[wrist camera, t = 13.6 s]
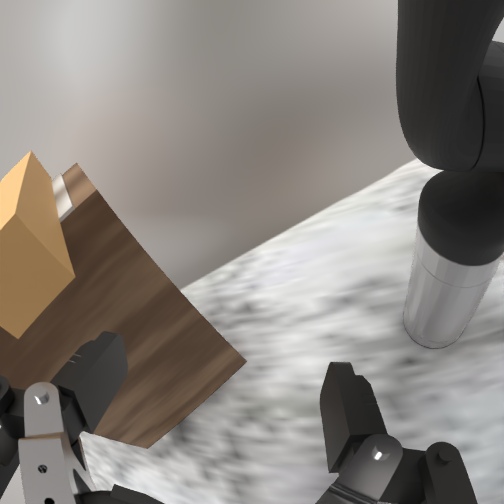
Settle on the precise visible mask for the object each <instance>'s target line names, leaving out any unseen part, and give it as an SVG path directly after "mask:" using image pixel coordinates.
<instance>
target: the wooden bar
mask: <svg viewBox="0 0 504 504" xmlns="http://www.w3.org/2000/svg"><path fill="white" fill-rule="evenodd" d="M74 278H75V274H74V271H73V268H72V264H71V261H70V258H69V254H68V251H67V247H66V244H65V240H64V236H63V232H62V228H61V224H60V220H59V216H58V211H57V207H56V202H55V197H54V192H53V186H52V181H51V177H50V176H49V174H48V173H47V172H46V170H45V169H44V168H43V166H42V165H41V163H40V162H39V161H38V160H37V158H36V156H35V155H34V154H33V152H32V151H30V152H29V153H28V154H27V155H26V156H25V157H24V158H23V159H22V160H21V161H20V162H19V163H18V164H17V165H16V166H15V167H14V168H13V169H12V170H11V171H10V172H9V173H8V174H7V175H6V176H5V177H4V178H3V179H2V180H1V182H0V326H1V327H2V328H3V329H5V330H6V331H8V332H9V333H10V334H12V335H13V336H14V337H16V338H17V339H19V338H20V337H21V335H22V334H23V333H24V332H25V331H26V330H27V328H28V327H29V326H30V325H31V324H32V323H33V322H34V320H35V319H36V318H37V317H38V316H39V315H40V314H41V313H42V312H43V310H44V309H45V308H46V307H47V306H48V305H49V304H50V303H51V302H52V301H53V300H54V299H55V298H56V297H57V295H58V294H59V293H60V292H61V291H62V290H63V289H64V288H65V287H66V286H67V285H68V284H69V283H70V282H71V281H72V280H73V279H74Z"/></svg>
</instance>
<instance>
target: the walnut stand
mask: <svg viewBox="0 0 504 504" xmlns="http://www.w3.org/2000/svg"><path fill="white" fill-rule="evenodd" d="M52 186H53V192H54V197H55V202H56V207H57V211H58V216H59V220H60V224H61V228H62V232H63V236H64V240H65V244H66V247H67V251H68V254H69V258H70V261H71V264H72V268H73V271H74V274H75V278H74V279H73V280H72V281H71V282H70V283H69V284H68V285H67V286H66V287H65V288H64V289H63V290H62V291H61V292H60V293H59V294H58V295H57V297H56V298H55V299H54V300H53V301H52V302H51V303H50V304H49V305H48V306H47V307H46V308H45V309H44V310H43V312H42V313H41V314H40V315H39V316H38V317H37V318H36V319H35V320H34V322H33V323H32V324H31V325H30V326H29V327H28V328H27V330H26V331H25V332H24V333H23V334H22V335H21V337H20V338H19V339H17V338H16V337H14V336H13V335H12V334H10V333H9V332H8V331H6V330H5V329H3V328H2V327H1V326H0V375H2V376H4V377H6V378H7V380H8V382H9V384H10V386H11V388H17V389H23V390H27V389H28V388H29V387H30V386H31V385H33V384H35V383H38V382H48V383H49V382H50V381H51V380H52V378H53V377H54V376H55V375H56V374H57V373H58V371H59V370H60V369H61V368H62V367H63V366H64V364H65V363H66V362H67V361H69V359H70V358H71V357H72V355H74V353H75V352H76V351H77V350H78V349H79V348H80V346H81V345H83V344H85V343H87V342H89V341H90V340H93V341H94V340H95V339H96V338H97V337H98V336H99V335H100V334H101V333H102V332H103V331H107V332H112V333H116V334H120V335H122V337H123V340H124V346H125V352H126V357H127V362H128V372H127V376H126V379H125V380H124V382H123V384H122V385H121V387H120V389H119V390H118V392H117V393H116V395H115V397H114V398H113V400H112V402H111V404H110V405H109V407H108V409H107V410H106V412H105V414H104V415H103V417H102V419H101V420H100V422H99V424H98V426H97V427H96V429H95V431H94V433H93V434H95V435H98V436H101V437H105V438H108V439H112V440H115V441H119V442H123V443H126V444H130V445H134V446H139V447H143V448H147V449H148V448H149V447H150V446H152V445H153V444H154V443H155V442H156V441H158V440H159V439H160V438H161V437H163V436H164V435H165V434H166V433H167V432H169V431H170V430H171V429H172V428H173V427H175V426H176V425H177V424H178V423H179V422H181V421H182V420H183V419H184V418H185V417H186V416H188V415H189V414H190V413H191V412H192V411H193V410H194V409H196V408H197V407H198V406H199V405H200V404H201V403H202V402H204V401H205V400H206V399H207V398H208V397H209V396H210V395H211V394H212V393H214V392H215V391H216V390H217V389H218V388H219V387H220V386H221V385H222V384H223V383H225V382H226V381H227V380H228V379H229V378H230V377H231V376H232V375H233V374H234V373H235V372H236V371H237V370H238V369H239V368H241V367H242V366H243V365H244V364H245V363H246V362H247V361H246V360H245V359H244V358H243V357H242V356H241V355H240V354H239V353H238V352H237V351H236V350H235V349H234V348H233V347H232V346H231V345H230V344H229V343H228V342H227V341H226V340H225V339H224V338H223V337H222V336H221V335H220V334H219V333H218V332H217V331H216V330H215V328H214V327H213V326H212V325H211V324H210V323H209V322H208V321H207V320H206V319H205V318H204V317H203V316H202V315H201V314H200V313H199V311H198V310H197V309H196V308H195V307H194V306H193V305H192V304H191V303H190V302H189V301H188V299H187V298H186V297H185V296H184V295H183V294H182V293H181V292H180V291H179V290H178V288H177V287H176V286H175V285H174V284H173V283H172V282H171V280H170V279H169V278H168V277H167V276H166V275H165V274H164V272H163V271H162V270H161V269H160V268H159V267H158V265H157V264H156V263H155V262H154V261H153V260H152V258H151V257H150V256H149V255H148V254H147V252H146V251H145V250H144V249H143V248H142V246H141V245H140V244H139V243H138V242H137V240H136V239H135V238H134V237H133V236H132V234H131V233H130V232H129V231H128V229H127V228H126V227H125V226H124V224H123V223H122V222H121V220H120V219H119V218H118V217H117V216H116V214H115V213H114V211H113V210H112V209H111V208H110V207H109V205H108V204H107V202H106V201H105V200H104V198H103V197H102V196H101V194H100V193H99V192H98V190H97V189H96V188H95V186H94V185H93V184H92V183H91V181H90V180H89V179H88V177H87V176H86V175H85V173H84V172H83V171H82V169H81V168H80V167H79V165H78V164H77V163H76V164H74V165H73V166H72V167H71V168H70V169H69V170H68V171H66V172H65V173H64V174H63V175H62V174H61V173H60V174H59V175H58V176H57V177H56V178H55V179H54V180H52Z"/></svg>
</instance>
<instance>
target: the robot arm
mask: <svg viewBox="0 0 504 504" xmlns="http://www.w3.org/2000/svg"><path fill="white" fill-rule="evenodd" d="M503 17H504V0H398V32H397V61H396V91H397V104H398V113H399V118H400V123H401V127H402V130H403V134H404V137H405V138H406V141H407V143H408V145H409V147H410V149H411V150H412V151H413V153H414V155H415V156H416V157H417V158H418V159H419V160H420V161H422V162H423V163H424V164H426V165H428V166H430V167H432V168H436V169H440V170H444V171H442V172H440V173H438V174H436V175H435V176H433V177H432V178H431V179H430V180H429V181H428V182H427V183H426V184H425V186H424V188H423V190H422V192H421V195H420V199H419V208H418V220H417V230H416V240H415V249H414V256H413V263H412V270H411V276H410V282H409V287H408V293H407V298H406V303H405V308H404V313H403V320H404V325H405V328H406V330H407V332H408V334H409V335H410V336H411V338H412V339H413V340H415V341H416V342H417V343H419V344H420V345H422V346H425V347H428V348H442V347H445V346H448V345H450V344H451V343H453V342H454V341H456V340H457V338H458V337H459V336H460V335H461V333H462V332H463V330H464V328H465V327H466V325H467V324H468V322H469V320H470V319H471V317H472V315H473V314H474V312H475V310H476V308H477V307H478V305H479V303H480V301H481V299H482V298H483V296H484V294H485V292H486V290H487V288H488V286H489V284H490V282H491V280H492V278H493V276H494V274H495V272H496V270H497V267H498V265H499V263H500V261H501V258H502V256H503V254H504V43H502V42H496V41H492V38H493V36H494V34H495V32H496V30H497V28H498V26H499V24H500V23H501V21H502V19H503ZM127 372H128V362H127V357H126V352H125V346H124V340H123V337H122V335H120V334H116V333H112V332H107V331H103V332H102V333H101V334H100V335H99V336H98V337H97V338H96V339H95V340H94V341H93V340H90V341H89V342H87V343H85V344H83V345H81V346H80V348H79V349H78V350H77V351H76V352H75V353H74V355H72V357H71V358H70V359H69V361H67V362H66V363H65V364H64V366H63V367H62V368H61V369H60V370H59V371H58V373H57V374H56V375H55V376H54V377H53V378H52V380H51V381H50V382H49V383H48V382H38V383H35V384H33V385H31V386H30V387H29V388H28V389H27V390H23V389H17V388H11V386H10V384H9V382H8V380H7V378H6V377H4V376H2V375H0V425H1V428H0V499H1V497H2V495H3V493H4V491H5V489H6V488H7V486H8V484H9V482H10V480H11V478H12V476H13V474H14V473H15V471H16V469H17V467H18V466H19V464H20V469H21V478H22V485H23V490H24V497H25V502H26V504H164V503H162V502H160V501H158V500H156V499H154V498H152V497H150V496H148V495H146V494H143V493H140V492H137V491H134V490H130V489H127V488H124V487H121V486H118V485H116V484H114V486H113V489H112V491H97V488H96V486H95V484H94V482H93V480H92V478H91V476H90V472H89V469H88V466H87V462H86V459H85V455H84V451H83V447H82V443H81V439H80V437H79V435H80V433H81V432H82V431H85V432H88V433H90V434H93V433H94V431H95V429H96V427H97V426H98V424H99V422H100V420H101V419H102V417H103V415H104V414H105V412H106V410H107V409H108V407H109V405H110V404H111V402H112V400H113V398H114V397H115V395H116V393H117V392H118V390H119V389H120V387H121V385H122V384H123V382H124V380H125V379H126V376H127ZM320 410H321V416H322V424H323V431H324V438H325V446H326V454H327V462H328V470H329V473H339V477H338V478H337V479H336V481H335V482H334V483H333V484H332V485H331V486H330V487H329V488H328V489H327V490H326V492H325V493H324V494H323V495H322V496H321V498H320V499H319V500H318V501H317V502H316V503H315V504H377V502H378V501H379V502H388V503H391V504H477V500H476V497H475V494H474V491H473V488H472V485H471V482H470V479H469V477H468V474H467V471H466V468H465V466H464V463H463V460H462V458H461V455H460V453H459V451H458V450H457V448H456V447H454V446H453V445H451V444H449V443H446V442H437V443H434V444H432V445H431V446H430V447H429V448H428V449H427V450H426V451H420V450H412V449H406V448H403V447H402V446H401V444H400V443H399V441H398V440H397V439H395V438H394V437H392V436H390V435H388V433H387V431H386V428H385V425H384V422H383V419H382V416H381V413H380V410H379V407H378V404H377V401H376V398H375V396H374V393H373V390H372V387H371V384H370V383H369V382H368V381H367V380H366V379H365V378H364V377H363V376H362V375H355V374H354V371H353V367H352V365H351V363H350V362H330V364H329V366H328V370H327V373H326V377H325V380H324V383H323V386H322V390H321V394H320Z"/></svg>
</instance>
